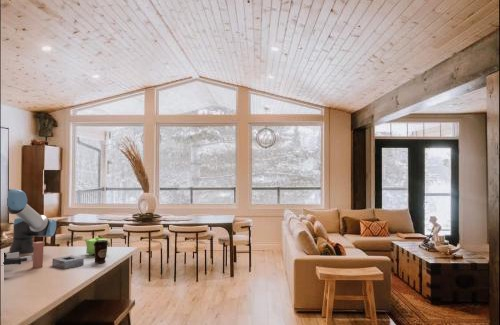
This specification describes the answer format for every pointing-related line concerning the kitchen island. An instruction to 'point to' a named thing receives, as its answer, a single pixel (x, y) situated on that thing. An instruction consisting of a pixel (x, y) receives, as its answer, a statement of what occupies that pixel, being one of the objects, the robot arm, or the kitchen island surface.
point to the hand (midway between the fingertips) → (25, 256)
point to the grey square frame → (67, 262)
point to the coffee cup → (100, 250)
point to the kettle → (92, 245)
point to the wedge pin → (38, 254)
